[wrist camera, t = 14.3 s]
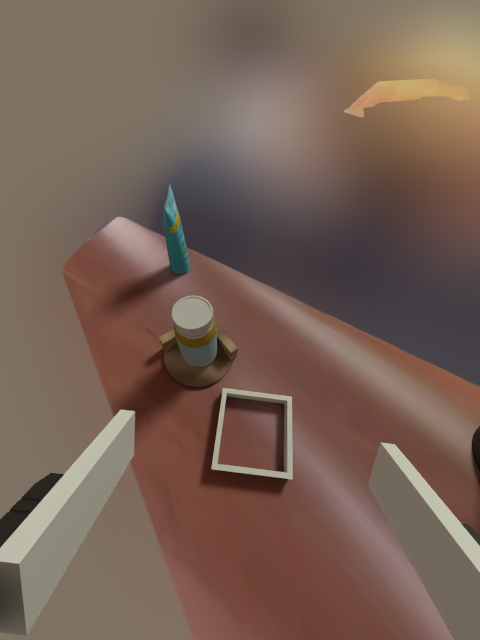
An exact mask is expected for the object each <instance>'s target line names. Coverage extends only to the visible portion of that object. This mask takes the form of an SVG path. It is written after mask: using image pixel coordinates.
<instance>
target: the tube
mask: <svg viewBox="0 0 480 640" xmlns="http://www.w3.org/2000/svg"><path fill="white" fill-rule="evenodd" d="M164 227H165V236H166V243H167V250H168V256H169V261H170V267H171V270H172V272H174V273H176V274H185V273H187V272H188V271H189V269H190V263H189V258H188V253H187V248H186V243H185V238H184V235H183V230H182V225H181V221H180V217H179V213H178V209H177V206H176V202H175V199H174V196H173V193H172V190H171V186H169V191H168V194H167V198H166V202H165V206H164Z"/></svg>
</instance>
